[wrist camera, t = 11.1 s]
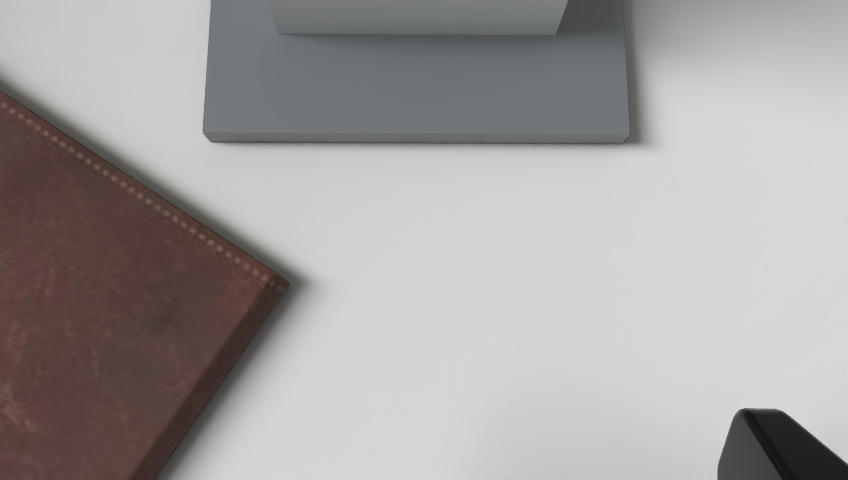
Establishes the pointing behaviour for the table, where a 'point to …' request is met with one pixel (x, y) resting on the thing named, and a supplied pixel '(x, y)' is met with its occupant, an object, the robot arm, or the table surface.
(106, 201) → the notebook
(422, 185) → the table surface
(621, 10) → the charging dock
